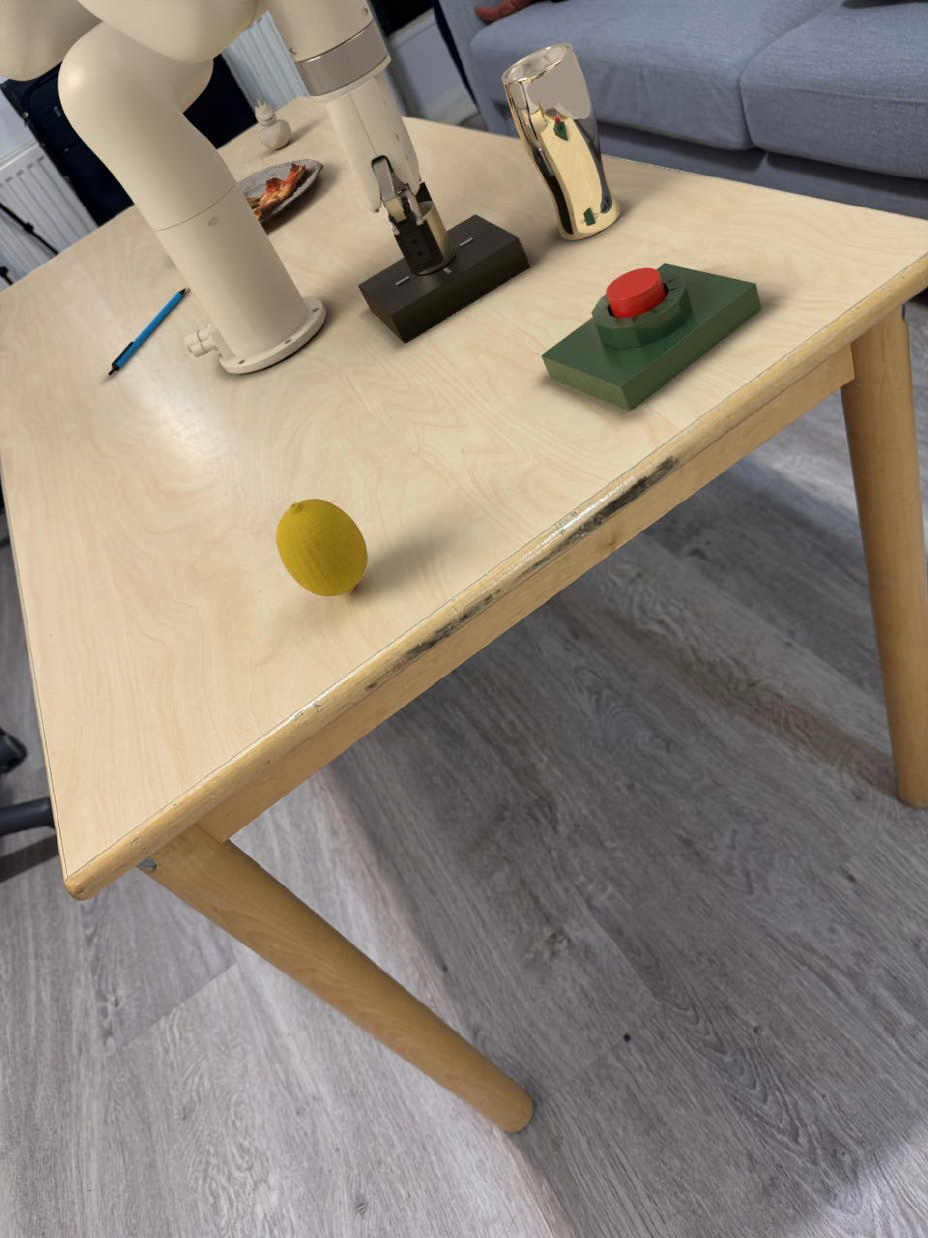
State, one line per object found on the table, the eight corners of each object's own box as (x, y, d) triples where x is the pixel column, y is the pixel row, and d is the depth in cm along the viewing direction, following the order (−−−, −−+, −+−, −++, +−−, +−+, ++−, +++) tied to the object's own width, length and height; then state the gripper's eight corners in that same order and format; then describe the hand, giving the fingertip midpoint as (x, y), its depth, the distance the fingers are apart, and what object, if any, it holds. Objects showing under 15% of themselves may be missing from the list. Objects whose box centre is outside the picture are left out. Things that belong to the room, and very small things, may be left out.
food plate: (355, 161, 139) (344, 137, 137) (259, 253, 128) (245, 228, 126) (243, 187, 155) (231, 165, 153) (148, 270, 144) (134, 248, 142)
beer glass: (622, 228, 90) (570, 60, 81) (551, 251, 93) (492, 91, 83) (628, 195, 95) (579, 32, 85) (560, 217, 98) (505, 62, 88)
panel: (404, 343, 92) (389, 314, 90) (371, 310, 101) (356, 283, 99) (530, 266, 93) (518, 235, 91) (486, 240, 101) (474, 211, 99)
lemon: (316, 579, 71) (258, 496, 66) (385, 551, 70) (332, 465, 65) (314, 630, 67) (252, 546, 62) (387, 601, 66) (330, 514, 61)
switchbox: (630, 412, 70) (613, 365, 67) (550, 378, 77) (532, 335, 75) (762, 309, 72) (750, 260, 69) (671, 286, 79) (658, 241, 77)
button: (636, 324, 70) (629, 303, 69) (602, 314, 73) (595, 293, 72) (677, 293, 71) (671, 271, 70) (641, 284, 74) (635, 263, 73)
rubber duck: (271, 156, 161) (245, 108, 156) (263, 151, 166) (237, 103, 161) (299, 139, 161) (274, 90, 156) (290, 134, 166) (265, 86, 161)
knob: (461, 255, 93) (439, 203, 90) (422, 279, 93) (397, 228, 90) (447, 244, 96) (424, 193, 93) (408, 267, 96) (384, 217, 93)
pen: (109, 377, 119) (103, 370, 118) (184, 292, 130) (180, 284, 129) (114, 376, 118) (108, 369, 118) (189, 290, 130) (185, 283, 129)
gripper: (311, 56, 90) (392, 228, 101) (296, 111, 77) (391, 301, 88) (384, 19, 88) (459, 198, 99) (382, 68, 75) (468, 267, 86)
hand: (427, 246), depth 94 cm, fingers open, 9 cm apart
